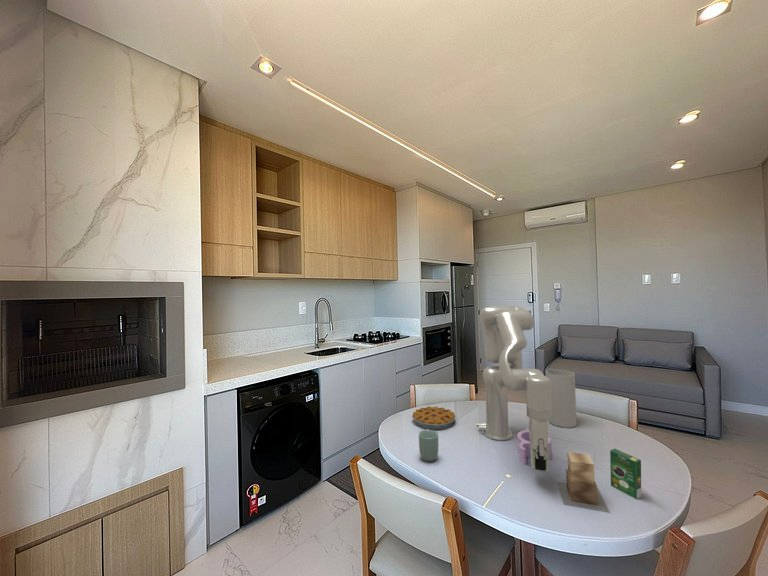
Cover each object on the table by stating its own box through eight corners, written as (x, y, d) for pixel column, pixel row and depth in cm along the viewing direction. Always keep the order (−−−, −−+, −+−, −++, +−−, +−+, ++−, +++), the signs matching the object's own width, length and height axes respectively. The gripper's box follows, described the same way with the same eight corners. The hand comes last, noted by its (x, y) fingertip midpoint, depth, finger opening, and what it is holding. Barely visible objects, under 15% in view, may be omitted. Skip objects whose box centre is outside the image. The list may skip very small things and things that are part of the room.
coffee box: (643, 501, 98) (641, 459, 98) (637, 503, 97) (636, 461, 97) (615, 486, 105) (614, 447, 105) (610, 489, 104) (608, 449, 104)
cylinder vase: (576, 420, 158) (574, 371, 158) (576, 430, 147) (574, 377, 147) (548, 416, 164) (547, 368, 165) (546, 425, 154) (544, 374, 154)
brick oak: (572, 480, 97) (571, 461, 98) (567, 470, 103) (567, 451, 103) (594, 484, 95) (593, 464, 95) (589, 473, 101) (588, 454, 101)
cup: (440, 455, 128) (439, 430, 129) (437, 465, 121) (436, 439, 121) (421, 452, 131) (420, 428, 131) (417, 462, 124) (416, 436, 124)
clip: (548, 474, 113) (547, 455, 114) (511, 464, 120) (511, 446, 120) (553, 450, 130) (552, 433, 130) (521, 443, 137) (520, 427, 137)
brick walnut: (571, 500, 97) (570, 481, 97) (566, 487, 104) (565, 469, 104) (597, 505, 95) (597, 485, 95) (591, 491, 101) (590, 472, 101)
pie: (429, 410, 177) (428, 401, 177) (463, 421, 162) (463, 411, 162) (404, 423, 161) (403, 413, 161) (439, 435, 146) (439, 424, 146)
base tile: (563, 508, 96) (563, 504, 96) (556, 485, 107) (556, 481, 107) (610, 517, 91) (610, 512, 91) (598, 491, 103) (597, 488, 103)
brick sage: (532, 468, 105) (532, 451, 105) (530, 460, 110) (530, 443, 110) (548, 471, 104) (548, 453, 104) (546, 463, 108) (546, 446, 108)
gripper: (524, 401, 116) (525, 450, 116) (529, 421, 100) (529, 478, 100) (547, 403, 113) (547, 453, 114) (555, 425, 97) (556, 482, 98)
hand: (539, 464), depth 107 cm, fingers closed on brick sage, 5 cm apart
